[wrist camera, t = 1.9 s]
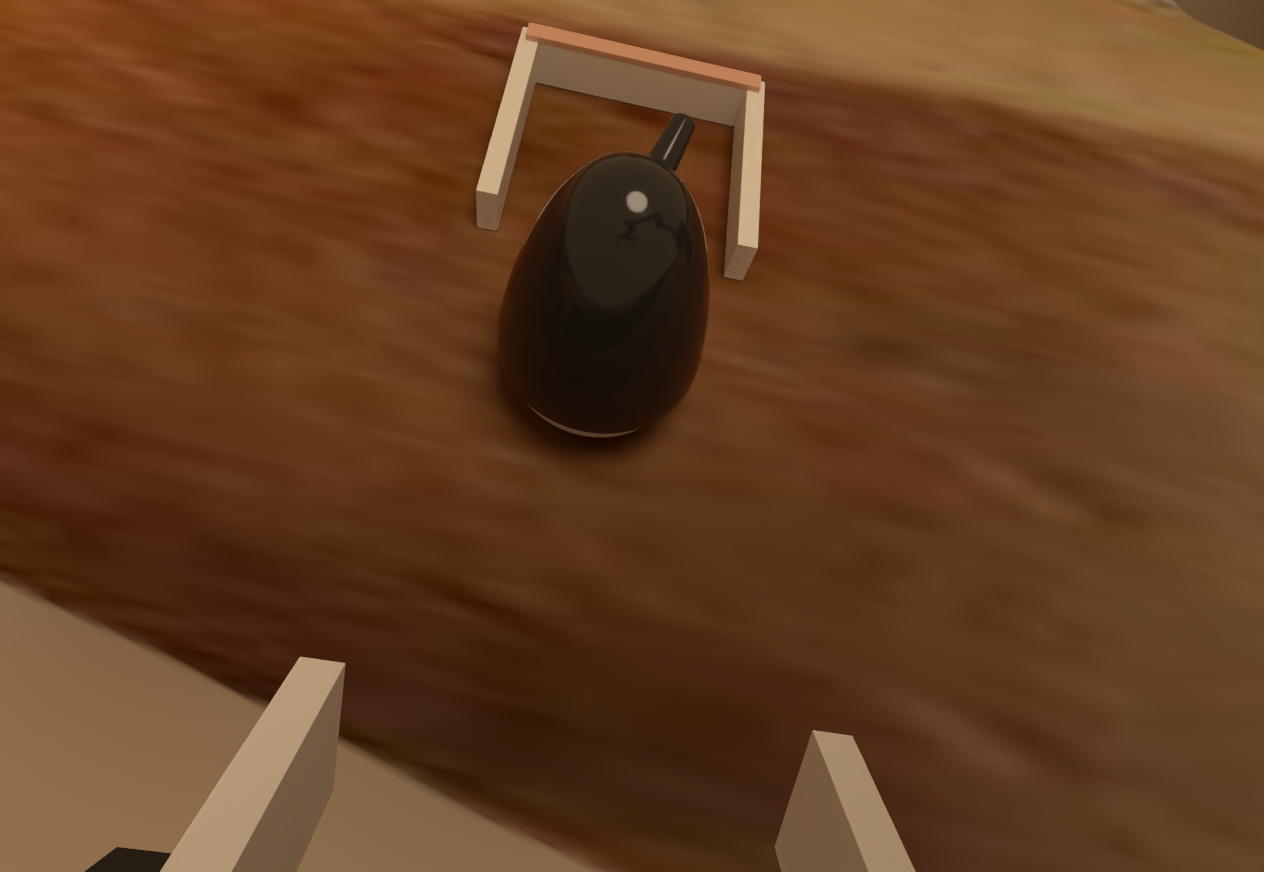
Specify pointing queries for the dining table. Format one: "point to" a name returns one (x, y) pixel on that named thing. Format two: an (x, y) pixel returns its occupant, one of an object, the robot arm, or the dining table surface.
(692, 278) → the black tall rounded piece
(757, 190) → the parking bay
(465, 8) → the dining table surface
